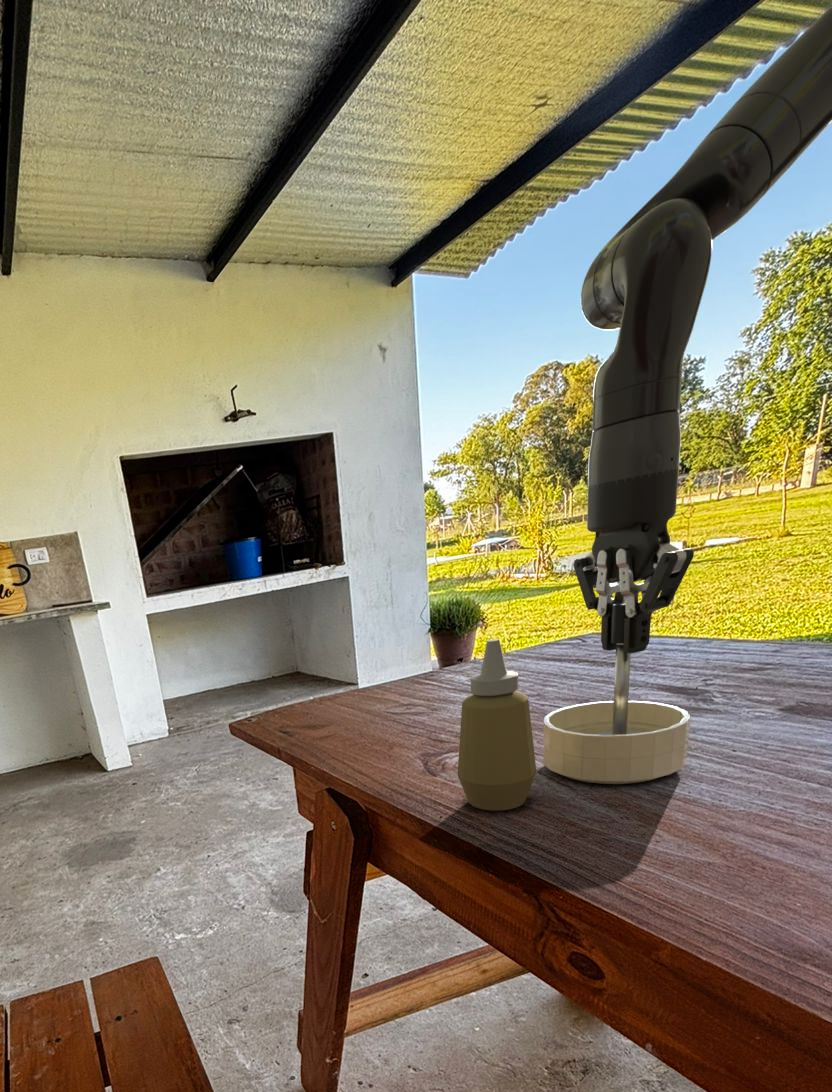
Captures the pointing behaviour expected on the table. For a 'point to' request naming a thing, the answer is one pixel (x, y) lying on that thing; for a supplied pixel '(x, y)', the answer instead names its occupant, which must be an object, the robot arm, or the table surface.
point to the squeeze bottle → (496, 737)
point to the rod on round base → (620, 674)
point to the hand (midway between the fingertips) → (623, 649)
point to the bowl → (616, 742)
